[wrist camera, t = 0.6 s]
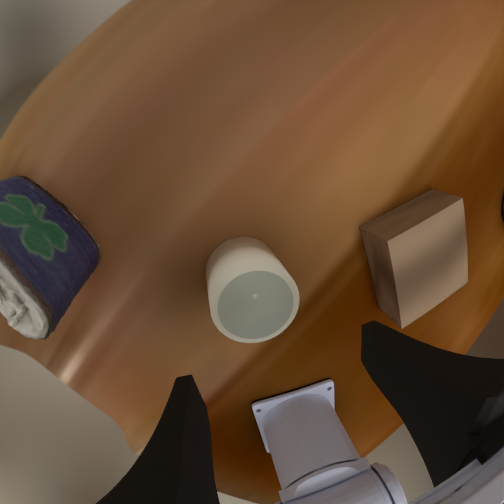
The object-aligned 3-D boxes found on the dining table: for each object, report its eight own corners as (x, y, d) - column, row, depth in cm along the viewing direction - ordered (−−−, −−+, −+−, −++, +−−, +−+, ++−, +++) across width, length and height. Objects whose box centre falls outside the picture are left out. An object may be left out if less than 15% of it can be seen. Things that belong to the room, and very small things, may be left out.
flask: (3, 195, 16) (-98, 239, 6) (21, 162, 16) (-86, 187, 6) (89, 276, 19) (29, 376, 9) (111, 246, 19) (52, 337, 9)
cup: (281, 293, 22) (304, 330, 18) (215, 310, 22) (222, 353, 17) (270, 228, 21) (294, 254, 16) (197, 246, 20) (199, 278, 15)
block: (440, 265, 25) (467, 281, 22) (376, 305, 25) (401, 328, 21) (429, 188, 22) (462, 197, 19) (357, 225, 22) (387, 241, 18)
